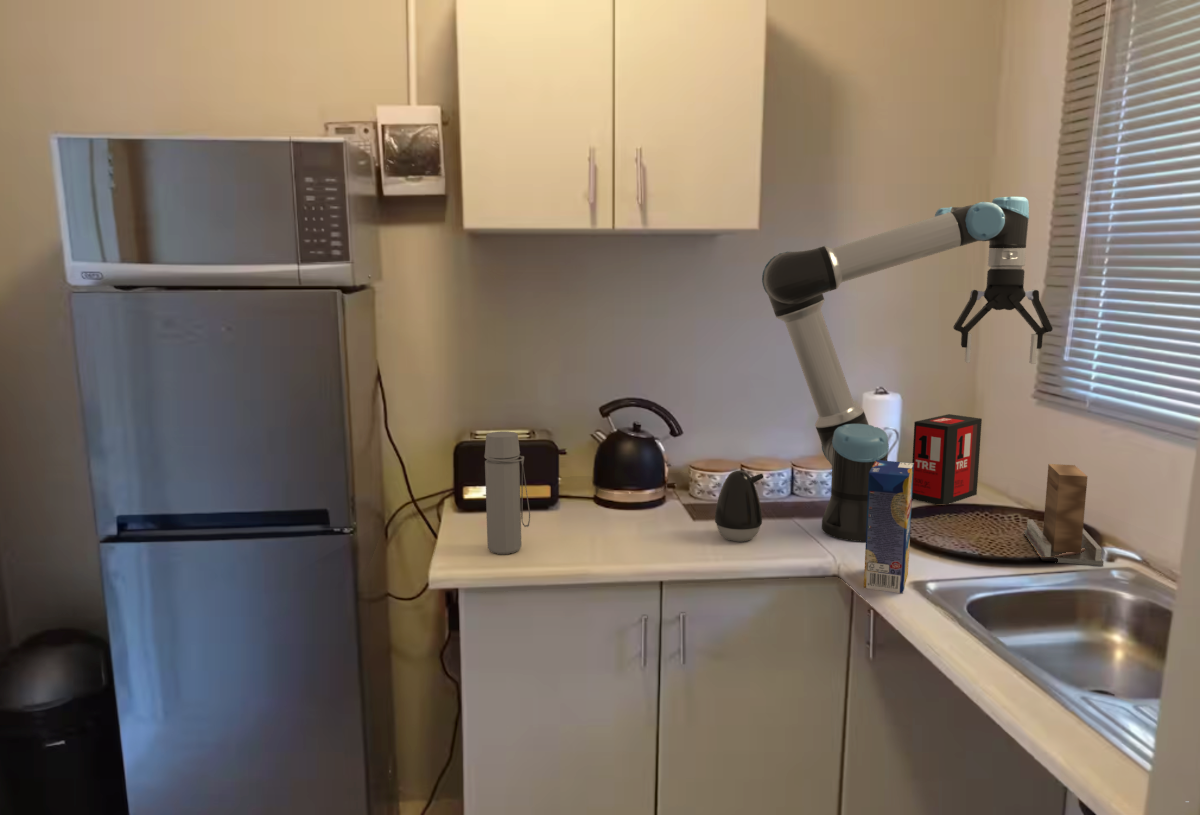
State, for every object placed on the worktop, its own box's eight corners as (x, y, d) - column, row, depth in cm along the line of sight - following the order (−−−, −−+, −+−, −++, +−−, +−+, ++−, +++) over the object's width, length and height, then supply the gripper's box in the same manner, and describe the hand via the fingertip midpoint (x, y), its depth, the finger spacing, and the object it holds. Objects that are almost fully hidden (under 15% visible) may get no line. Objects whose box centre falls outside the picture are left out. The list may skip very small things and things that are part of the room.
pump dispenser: (767, 544, 183) (769, 475, 181) (719, 546, 183) (720, 476, 180) (756, 530, 193) (758, 464, 191) (710, 531, 193) (711, 465, 190)
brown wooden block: (1052, 551, 175) (1059, 474, 172) (1042, 536, 184) (1047, 463, 181) (1081, 553, 173) (1088, 476, 171) (1069, 538, 183) (1075, 465, 180)
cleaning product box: (944, 487, 228) (948, 414, 225) (976, 494, 222) (981, 418, 218) (910, 498, 218) (914, 421, 215) (943, 506, 211) (947, 426, 208)
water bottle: (488, 557, 177) (484, 438, 172) (486, 545, 184) (482, 431, 180) (532, 554, 178) (530, 436, 174) (528, 542, 186) (526, 429, 182)
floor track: (1041, 561, 172) (1043, 544, 171) (1023, 534, 189) (1025, 519, 188) (1103, 566, 169) (1104, 549, 168) (1079, 538, 186) (1080, 522, 185)
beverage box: (907, 573, 165) (913, 462, 162) (902, 593, 155) (908, 475, 152) (871, 569, 168) (876, 459, 164) (863, 588, 158) (868, 472, 155)
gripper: (948, 268, 191) (942, 363, 194) (1072, 267, 184) (1064, 365, 188) (944, 268, 198) (939, 359, 201) (1063, 267, 191) (1056, 362, 195)
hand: (999, 362), depth 195 cm, fingers open, 13 cm apart
